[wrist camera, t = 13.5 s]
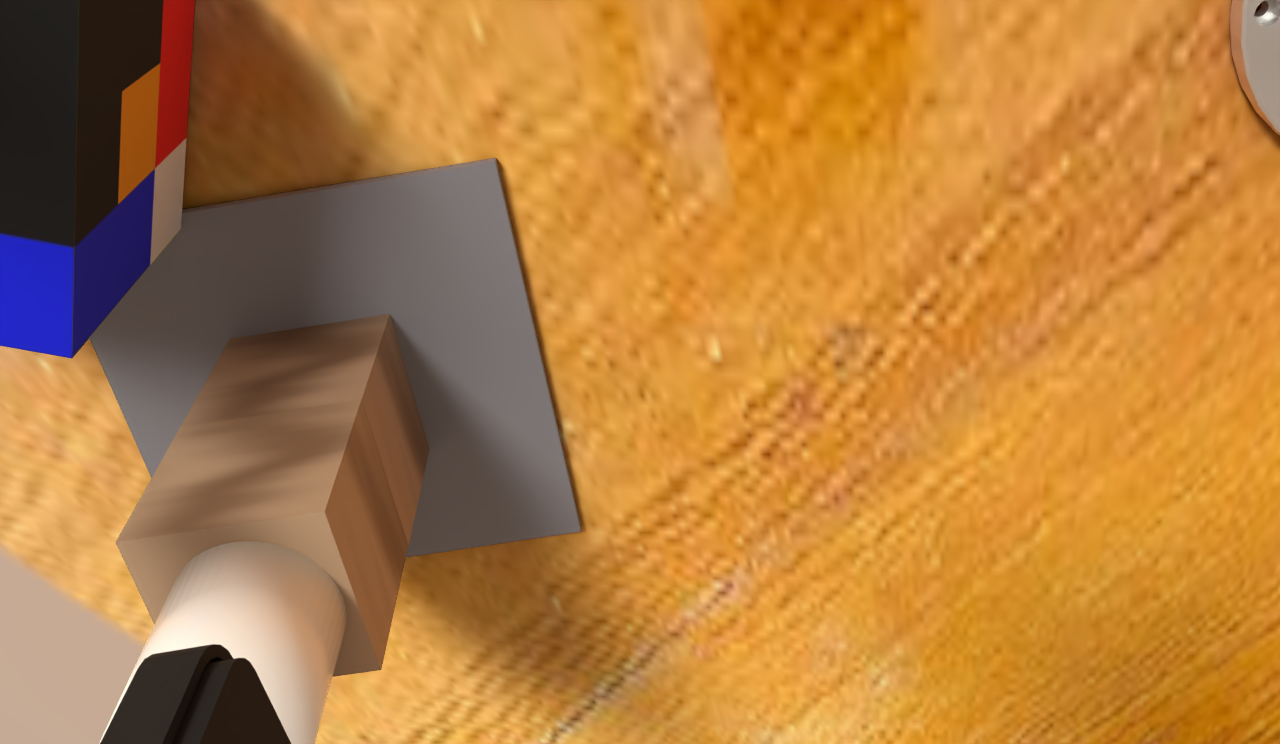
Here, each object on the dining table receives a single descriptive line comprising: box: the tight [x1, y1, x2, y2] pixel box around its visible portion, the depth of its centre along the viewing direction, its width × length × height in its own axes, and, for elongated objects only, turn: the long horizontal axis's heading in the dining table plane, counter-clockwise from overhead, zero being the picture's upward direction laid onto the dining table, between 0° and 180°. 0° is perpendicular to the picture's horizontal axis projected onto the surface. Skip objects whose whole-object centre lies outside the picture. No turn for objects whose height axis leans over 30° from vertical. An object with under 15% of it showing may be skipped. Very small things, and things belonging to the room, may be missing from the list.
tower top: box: [116, 400, 408, 677], centre depth 38 cm, size 6×6×6 cm
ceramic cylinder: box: [100, 541, 347, 744], centre depth 32 cm, size 5×5×6 cm
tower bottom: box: [181, 314, 430, 546], centre depth 43 cm, size 6×6×6 cm
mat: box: [90, 158, 581, 557], centre depth 46 cm, size 16×16×1 cm
